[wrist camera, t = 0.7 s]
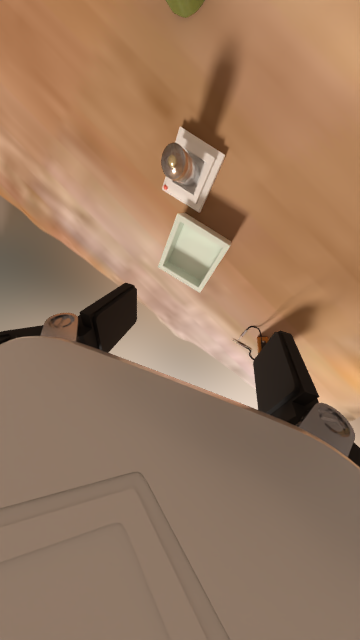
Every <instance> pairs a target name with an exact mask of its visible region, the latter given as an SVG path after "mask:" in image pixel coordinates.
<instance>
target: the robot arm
mask: <svg viewBox="0 0 360 640" xmlns="http://www.w3.org/2000/svg"><path fill="white" fill-rule="evenodd" d="M136 320H137V289H136V288H135V286H134V285H132V284H128V283H124V284H123V285H121V286H120V287H118V288H116V289H115V290H113V291H112V292H110V293H109V294H107V295H105V296H104V297H102V298H101V299H99V300H98V301H96V302H95V303H93V304H92V305H90V306H88V307H87V308H85V309H84V310H82V311H81V312H80V315H79V316H78V317H77V316H76V315H74V314H72V313H60V314H56V315H53V316H51V317H49V318H48V319H47V320H46V321H45V323H44V325H42V326H36V327H29V328H22V329H15V330H8V331H3V332H0V640H360V448H359V447H358V446H357V445H356V444H355V443H354V440H355V433H354V430H353V428H352V426H351V425H350V423H349V422H348V421H347V419H346V418H345V417H344V416H343V415H342V414H341V413H340V412H338V411H337V410H336V409H334V408H333V407H331V406H329V405H327V404H324V403H319V402H318V399H317V398H318V397H319V395H318V393H317V391H316V388H315V386H314V384H313V382H312V379H311V377H310V375H309V373H308V370H307V368H306V366H305V364H304V361H303V359H302V357H301V355H300V352H299V350H298V348H297V346H296V344H295V341H294V339H293V337H292V335H291V334H289V333H286V332H283V331H279V332H275V333H274V334H273V335H272V337H271V338H270V339H269V341H268V342H267V343H266V345H265V346H264V347H263V349H262V350H261V351H260V353H259V354H258V355H257V357H256V358H255V360H254V363H253V365H254V374H255V384H256V393H257V402H258V410H256V409H254V408H251V407H249V406H246V405H244V404H241V403H238V402H236V401H233V400H231V399H228V398H226V397H223V396H220V395H218V394H215V393H213V392H210V391H207V390H205V389H202V388H200V387H197V386H195V385H192V384H189V383H187V382H184V381H181V380H179V379H176V378H174V377H171V376H168V375H166V374H163V373H160V372H158V371H155V370H152V369H150V368H147V367H145V366H142V365H139V364H137V363H134V362H131V361H129V360H126V359H123V358H121V357H118V356H115V355H113V354H110V353H108V352H109V351H110V350H111V349H112V348H113V347H114V346H115V345H116V344H117V342H118V341H119V340H120V339H121V338H122V337H123V336H124V335H125V334H126V333H127V331H128V330H129V329H130V328H131V327H132V326H133V325H134V324H135V322H136Z"/></svg>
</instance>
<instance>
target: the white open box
mask: <svg viewBox="0 0 360 640" xmlns="http://www.w3.org/2000/svg"><path fill="white" fill-rule="evenodd" d="M230 245H231V241H230V240H228V239H226V238H225V237H223V236H222V235H220V234H218V233H217V232H215V231H213V230H212V229H210V228H209V227H207V226H205V225H204V224H202V223H201V222H199V221H197V220H196V219H194V218H193V217H191V216H189V215H188V214H186V213H178V214H177V216H176V219H175V222H174V225H173V227H172V230H171V233H170V235H169V238H168V241H167V244H166V246H165V249H164V252H163V254H162V257H161V260H160V263H159V265H158V268H160V269H162V270H163V271H165V272H167V273H168V274H170V275H171V276H173V277H175V278H176V279H178V280H180V281H181V282H183V283H185V284H186V285H188V286H189V287H191V288H193V289H194V290H196V291H198V292H199V293H200V292H201V290H202V289H203V287H204V286H205V284H206V283H207V281H208V280H209V278H210V276H211V275H212V273H213V272H214V270H215V269H216V267H217V266H218V264H219V263H220V261H221V259H222V258H223V256H224V255H225V253H226V252H227V250H228V249H229V247H230Z"/></svg>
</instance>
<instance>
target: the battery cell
mask: <svg viewBox="0 0 360 640" xmlns="http://www.w3.org/2000/svg"><path fill="white" fill-rule="evenodd" d="M161 165H162V169H163V172H164V174H165V175H166V176H167V177H168V178H169V179H171V180H174V181H176V182H179V183H182V184H184V185H186V186H193V185H195V184H196V183H197V181H198V179H199V176H200V168H199V166H198V164H197V163H196V162H195V161H194V160H193V159H192V158H191V157H190V155H189V154H188V153H187V152H186V151H185V150H184V149H183V148H182V147H181V146H180V145H179V144H178V143H170V144H169V145H167V146H166V148H165V149H164V151H163V154H162V159H161Z"/></svg>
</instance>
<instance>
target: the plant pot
mask: <svg viewBox="0 0 360 640" xmlns="http://www.w3.org/2000/svg"><path fill="white" fill-rule="evenodd" d="M166 2H167V3H168V5H169V7H170V8H171V10H172V11H173V12H174V13H175V14H177V15H179V16H181V17H185V18H186V17H189V16H191V15H192V14H194V13H195V12H196V11H197V10H198V9H199V8H200V7H201V5H202V4H203V2H204V0H166Z"/></svg>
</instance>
